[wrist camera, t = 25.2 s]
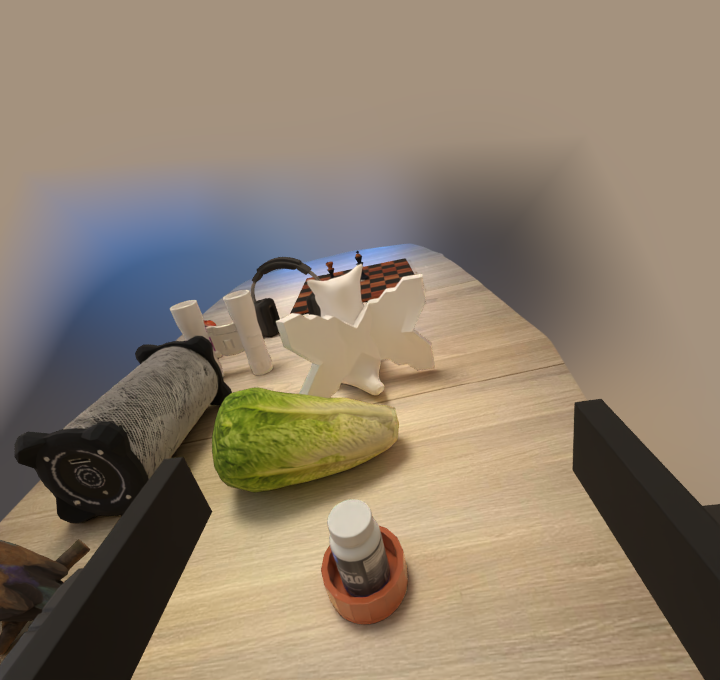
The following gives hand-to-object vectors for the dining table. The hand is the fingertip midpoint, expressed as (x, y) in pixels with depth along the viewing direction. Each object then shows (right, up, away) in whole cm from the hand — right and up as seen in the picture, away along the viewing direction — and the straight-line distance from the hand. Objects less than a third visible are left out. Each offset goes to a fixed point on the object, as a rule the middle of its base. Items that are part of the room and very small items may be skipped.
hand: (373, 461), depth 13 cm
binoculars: (-28, -4, +72) cm, 77 cm away
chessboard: (-2, +23, +118) cm, 120 cm away
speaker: (-33, -15, +50) cm, 62 cm away
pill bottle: (0, -19, +24) cm, 30 cm away
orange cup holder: (0, -19, +24) cm, 31 cm away
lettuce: (-6, -13, +40) cm, 43 cm away
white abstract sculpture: (-1, -3, +59) cm, 59 cm away
